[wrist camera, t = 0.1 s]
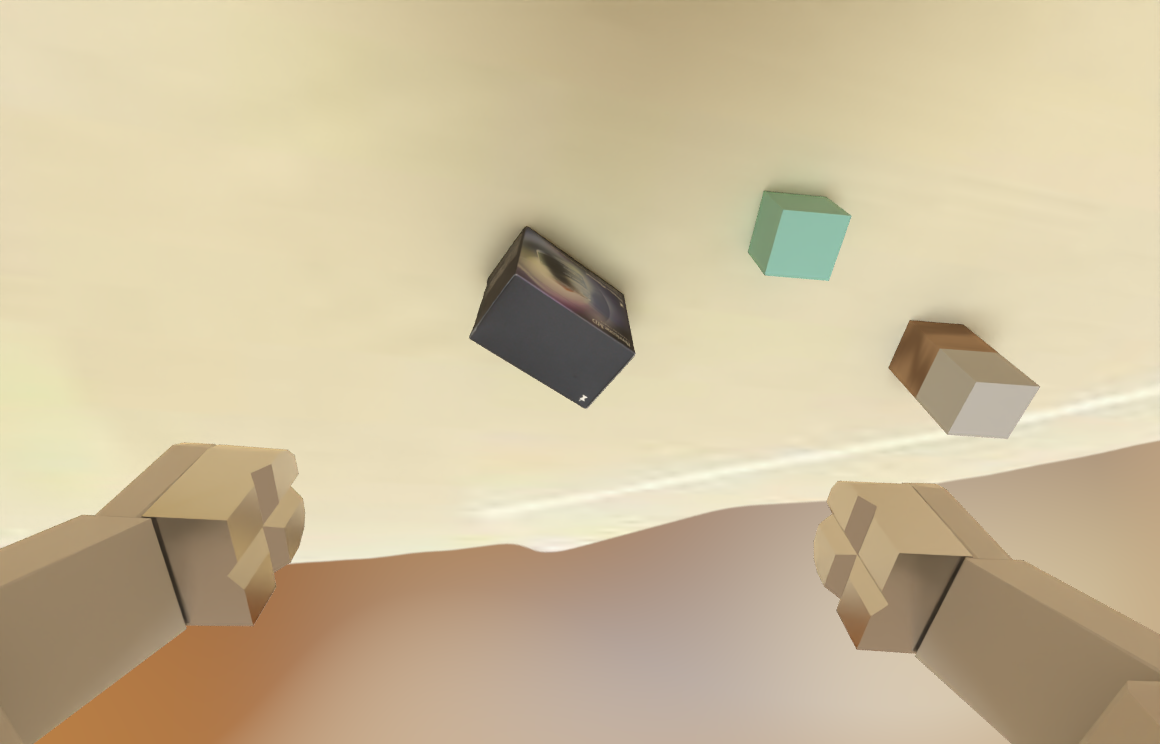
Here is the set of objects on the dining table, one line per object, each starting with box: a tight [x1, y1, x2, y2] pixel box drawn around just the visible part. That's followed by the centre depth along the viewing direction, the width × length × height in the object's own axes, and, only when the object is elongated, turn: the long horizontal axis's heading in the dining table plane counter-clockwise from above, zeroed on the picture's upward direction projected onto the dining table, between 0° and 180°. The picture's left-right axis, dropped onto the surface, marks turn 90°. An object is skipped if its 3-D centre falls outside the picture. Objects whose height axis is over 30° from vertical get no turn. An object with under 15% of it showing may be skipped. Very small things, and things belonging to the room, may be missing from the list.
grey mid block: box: [915, 349, 1040, 439], centre depth 46 cm, size 5×5×5 cm
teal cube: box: [748, 191, 851, 281], centre depth 44 cm, size 5×5×5 cm
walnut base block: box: [889, 320, 998, 398], centre depth 50 cm, size 5×5×5 cm
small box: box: [469, 227, 635, 409], centre depth 44 cm, size 11×6×10 cm, turn 53°
